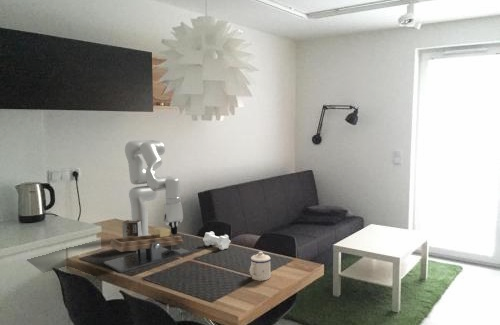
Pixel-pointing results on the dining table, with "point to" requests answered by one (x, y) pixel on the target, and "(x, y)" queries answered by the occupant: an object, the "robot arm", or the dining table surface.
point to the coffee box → (132, 228)
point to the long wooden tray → (145, 242)
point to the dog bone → (216, 240)
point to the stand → (145, 257)
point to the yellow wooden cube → (161, 232)
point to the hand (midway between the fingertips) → (174, 233)
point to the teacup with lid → (260, 267)
